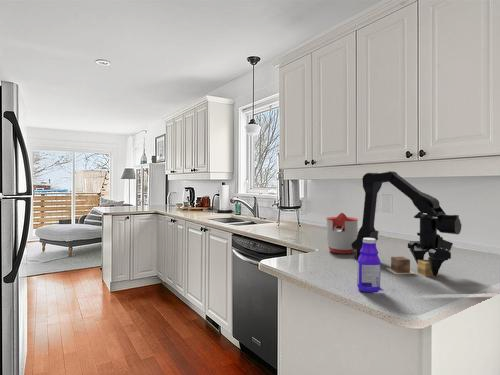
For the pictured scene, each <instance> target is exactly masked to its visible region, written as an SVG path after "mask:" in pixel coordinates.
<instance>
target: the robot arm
mask: <svg viewBox="0 0 500 375" xmlns="http://www.w3.org/2000/svg"><path fill="white" fill-rule="evenodd" d="M361 181H362V188H363V190H364V204H363V213H362V214H363V215H362V223H361V226H360V228H359V229H358V235H357V239H356V240H355V241H354V242H353V243H352V244H351V245H352V248H353V249H354V252H353V253H354V258H353V259H354V260H355V261H356V262H358V258H359V256H360V254H361V252H360V250H361V248H362V246H363V238H374V239H376V242H377V241H378V240H379V237H378V236H379V230H376V228H375V221H376V220H375V219H376V217H375V216H376V208H377V201H378V199H377V198H378V193H379V192H380V190H381V188H382V184H383V183H389V184H391V185H392V186H394V187H395V188H396V189H397V190H399V191H400V192H401V193H403V195H404V196H406V197H408V199H410V200H411V201H412V203H413V206H414V207H415V208H416V209H417V210H418V212H417V213H416V214H415V215H413V218H414V219H419V232H416V235H417V236H418V237H419V240H410V241H409V242H408V243H407V248H408V249H409V251H410V252H411V254H412V256H413V258H414V261H415V263H416V265H417V266H418V260H425V255H426V254H427V253H428V259H427V260H429V263H430V266H431V270H432V273H433V276H432V277H438V276H437V274H438V275H439V271H440V268H441V266H442V264H443V263H444V262H446V261H448V260H450V259H452V253H451V250H452V247H453V244H454V243H453V242H450V241H448V240H446V239H444V238H443V237H442V236H441V235H440V234H441V233H442V234H450V235H459V234H460V233H461V231H462V222H461V220H460V215H458V214H446V212H445V211H444V210H443V208H442V207H441V206H440V201H439V200H438V199H437V198H436V197H434V196H431V195H430V194H428V193H425V192H422V191H421V190H419V189H418V188H416V187H415V186H414V185H412V184H411V183H410V182H408V181H407V180H406V179H404V178H403V177H402V176H400V174H398V172H396V171H386V172H380V173H379V172H366V173H365V174H363V176H362V180H361ZM438 231H439V232H440V234H438Z"/></svg>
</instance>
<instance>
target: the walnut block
mask: <svg viewBox="0 0 500 375" xmlns="http://www.w3.org/2000/svg"><path fill="white" fill-rule="evenodd" d="M390 268H391V269H392V270H393V271H395V272H397V273H410V271H411V259H409V258H407V257H405V256H391V257H390Z"/></svg>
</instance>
